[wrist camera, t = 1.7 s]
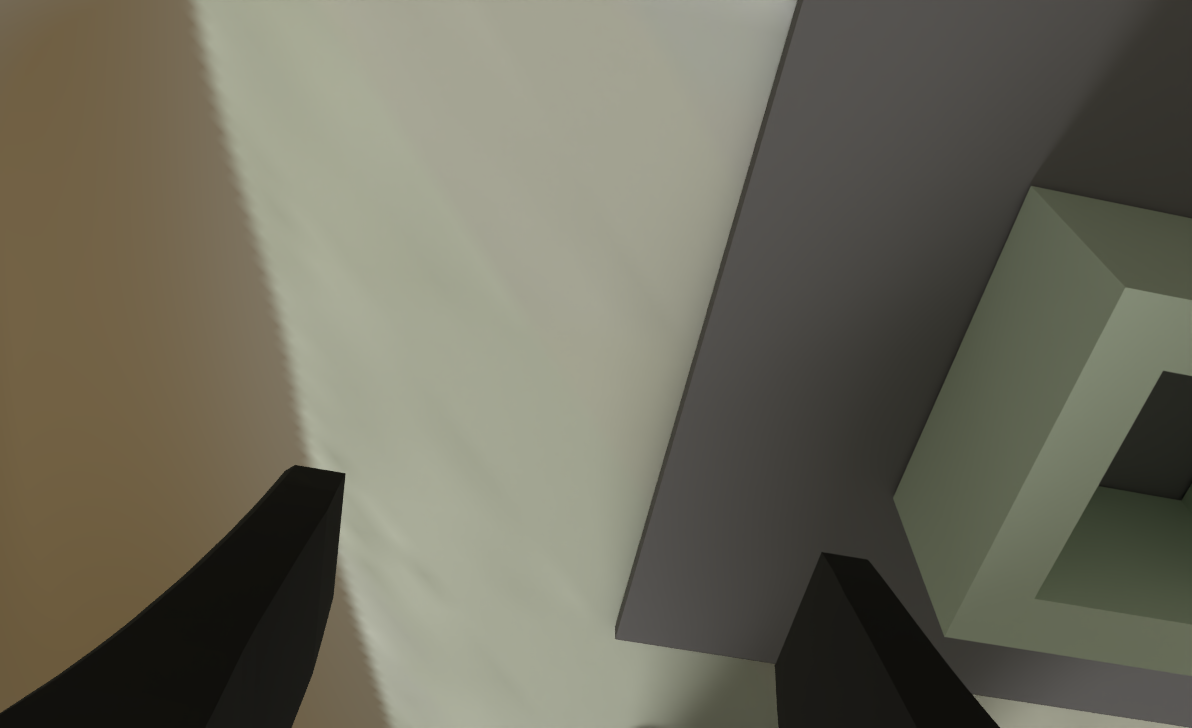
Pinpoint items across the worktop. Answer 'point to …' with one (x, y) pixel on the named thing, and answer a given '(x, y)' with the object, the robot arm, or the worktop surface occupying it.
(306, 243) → the worktop surface
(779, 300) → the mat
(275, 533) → the robot arm
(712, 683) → the worktop surface
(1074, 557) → the socket block
